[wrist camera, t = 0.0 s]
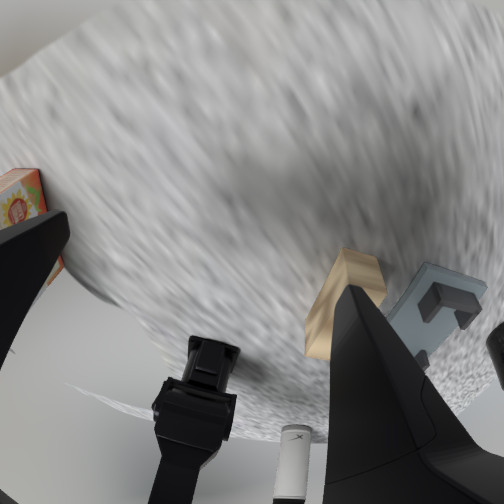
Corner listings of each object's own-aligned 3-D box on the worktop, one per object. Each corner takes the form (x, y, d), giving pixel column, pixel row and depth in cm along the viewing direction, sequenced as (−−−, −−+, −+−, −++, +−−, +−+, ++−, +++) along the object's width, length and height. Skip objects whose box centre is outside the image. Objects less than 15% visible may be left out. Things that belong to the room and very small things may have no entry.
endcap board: (414, 363, 33) (418, 384, 30) (355, 356, 33) (357, 379, 30) (484, 282, 24) (496, 303, 21) (424, 262, 24) (436, 286, 21)
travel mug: (297, 422, 48) (287, 513, 32) (317, 429, 50) (310, 513, 34) (274, 427, 52) (262, 511, 35) (295, 434, 54) (286, 513, 37)
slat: (334, 324, 30) (336, 361, 26) (305, 318, 30) (304, 356, 26) (375, 255, 24) (387, 293, 20) (341, 246, 24) (349, 283, 20)
